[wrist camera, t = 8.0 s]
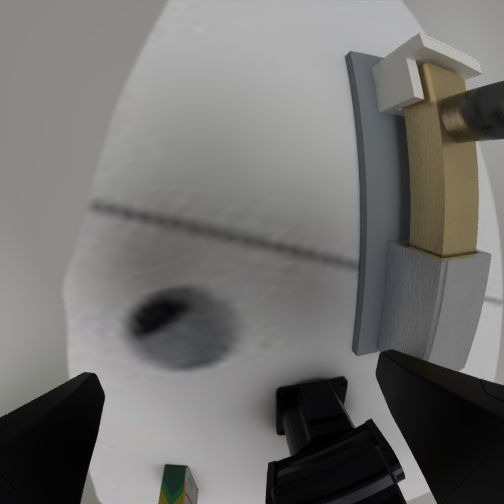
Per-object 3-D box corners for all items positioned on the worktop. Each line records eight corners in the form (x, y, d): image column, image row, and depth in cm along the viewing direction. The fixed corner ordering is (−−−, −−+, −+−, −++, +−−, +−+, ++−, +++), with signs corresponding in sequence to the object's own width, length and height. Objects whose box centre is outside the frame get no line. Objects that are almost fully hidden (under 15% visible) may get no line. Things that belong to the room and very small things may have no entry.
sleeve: (423, 334, 21) (463, 367, 15) (376, 347, 20) (413, 389, 14) (437, 237, 19) (491, 254, 13) (387, 241, 18) (441, 261, 12)
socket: (435, 123, 17) (491, 111, 10) (379, 112, 16) (434, 88, 10) (427, 82, 16) (478, 61, 10) (371, 67, 15) (419, 32, 9)
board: (430, 330, 22) (436, 334, 21) (352, 350, 21) (356, 356, 20) (431, 77, 17) (437, 74, 16) (345, 56, 16) (350, 51, 15)
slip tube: (441, 267, 18) (522, 306, 9) (407, 273, 17) (493, 321, 9) (433, 88, 14) (513, 61, 6) (397, 78, 14) (480, 36, 6)
